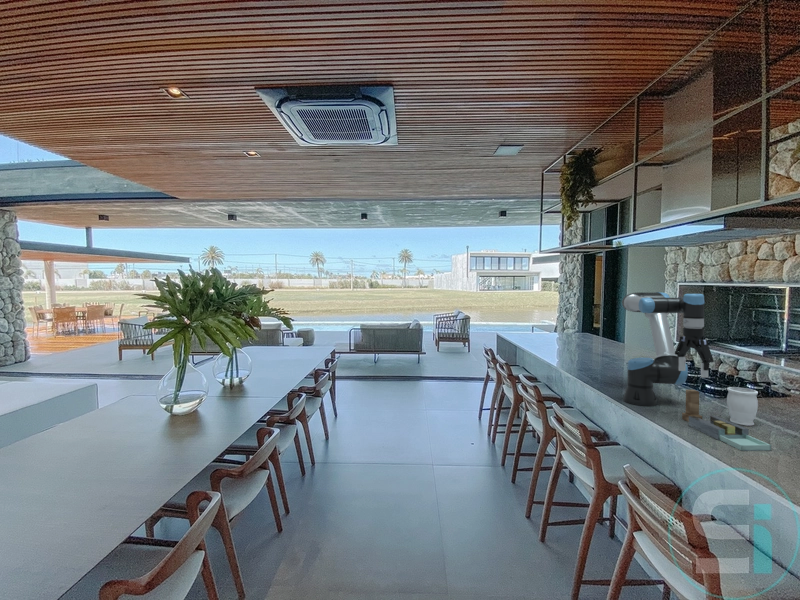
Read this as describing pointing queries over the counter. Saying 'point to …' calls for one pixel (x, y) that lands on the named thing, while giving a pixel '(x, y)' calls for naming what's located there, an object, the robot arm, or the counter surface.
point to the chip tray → (746, 443)
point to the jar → (742, 405)
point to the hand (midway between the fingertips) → (692, 374)
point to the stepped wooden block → (691, 405)
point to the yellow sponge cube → (728, 428)
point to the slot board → (730, 436)
